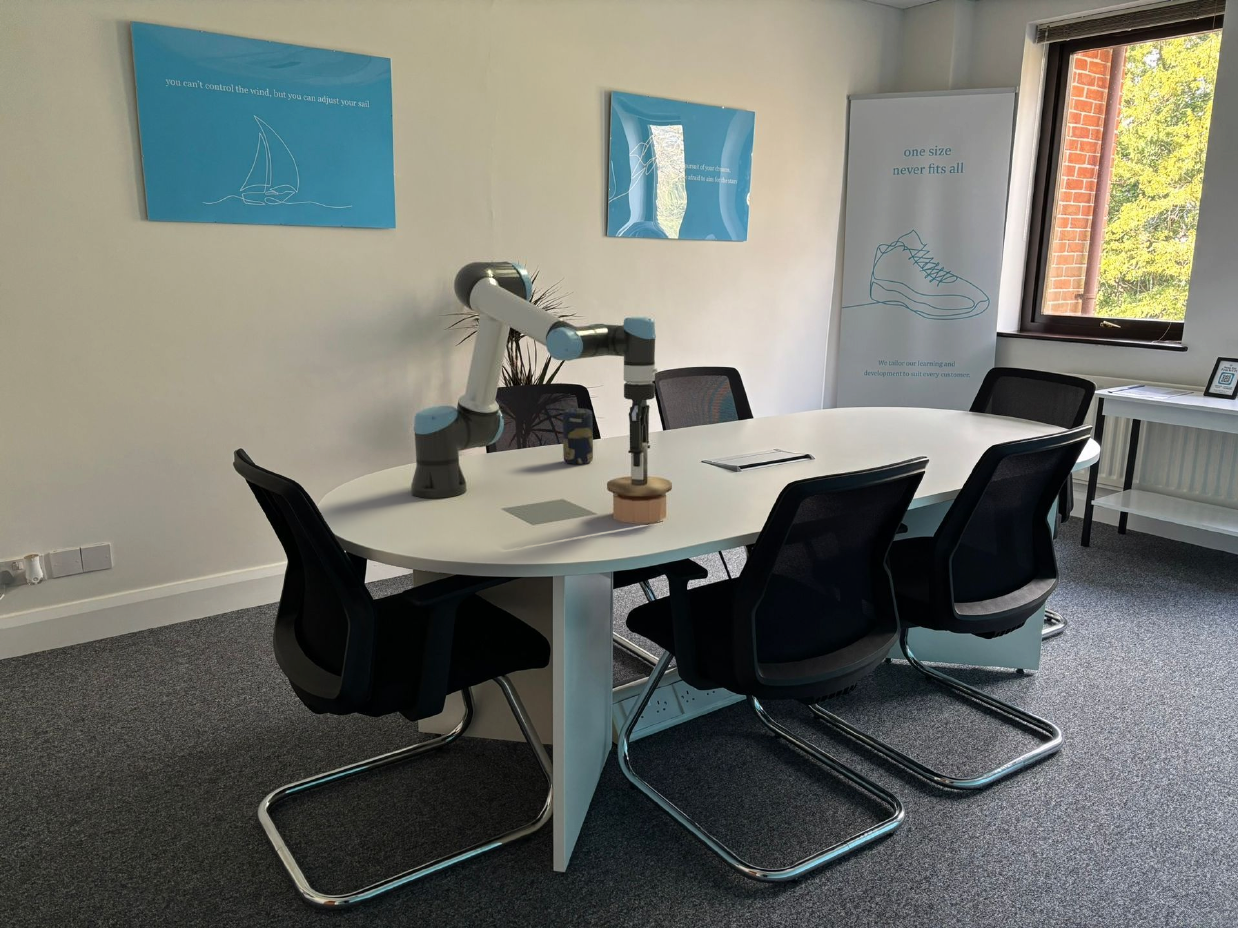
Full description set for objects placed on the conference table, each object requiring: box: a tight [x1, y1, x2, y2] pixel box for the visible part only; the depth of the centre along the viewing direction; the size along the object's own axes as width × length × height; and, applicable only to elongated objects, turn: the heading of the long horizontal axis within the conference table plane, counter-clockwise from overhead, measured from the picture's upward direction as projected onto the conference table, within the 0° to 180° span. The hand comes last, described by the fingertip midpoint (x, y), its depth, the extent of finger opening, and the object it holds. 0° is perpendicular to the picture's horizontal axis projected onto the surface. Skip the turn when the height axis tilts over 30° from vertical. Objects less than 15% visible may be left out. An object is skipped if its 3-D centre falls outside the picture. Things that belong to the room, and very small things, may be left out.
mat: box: [501, 498, 598, 526], centre depth 228 cm, size 18×18×1 cm
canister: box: [562, 406, 594, 465], centre depth 287 cm, size 10×10×18 cm
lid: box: [606, 442, 673, 496], centre depth 221 cm, size 16×16×11 cm
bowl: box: [612, 493, 667, 526], centre depth 223 cm, size 13×13×6 cm
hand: (639, 476), depth 222 cm, fingers closed on lid, 4 cm apart
